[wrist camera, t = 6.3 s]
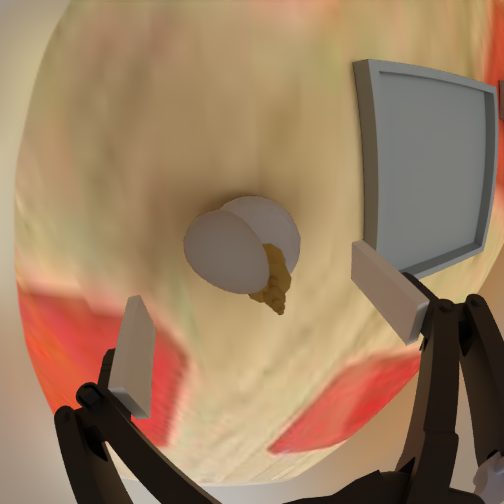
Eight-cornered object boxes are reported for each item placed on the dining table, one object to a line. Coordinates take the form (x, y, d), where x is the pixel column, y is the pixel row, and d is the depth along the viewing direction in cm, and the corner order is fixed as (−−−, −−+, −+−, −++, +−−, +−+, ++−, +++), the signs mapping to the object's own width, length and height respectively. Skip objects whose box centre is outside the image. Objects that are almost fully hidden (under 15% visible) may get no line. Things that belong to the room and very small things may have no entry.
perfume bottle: (261, 273, 27) (300, 369, 17) (165, 239, 24) (149, 338, 13) (299, 206, 25) (370, 279, 14) (199, 161, 21) (203, 209, 11)
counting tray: (352, 62, 19) (367, 59, 17) (482, 85, 21) (496, 87, 19) (361, 284, 31) (371, 297, 29) (472, 243, 33) (483, 251, 30)
